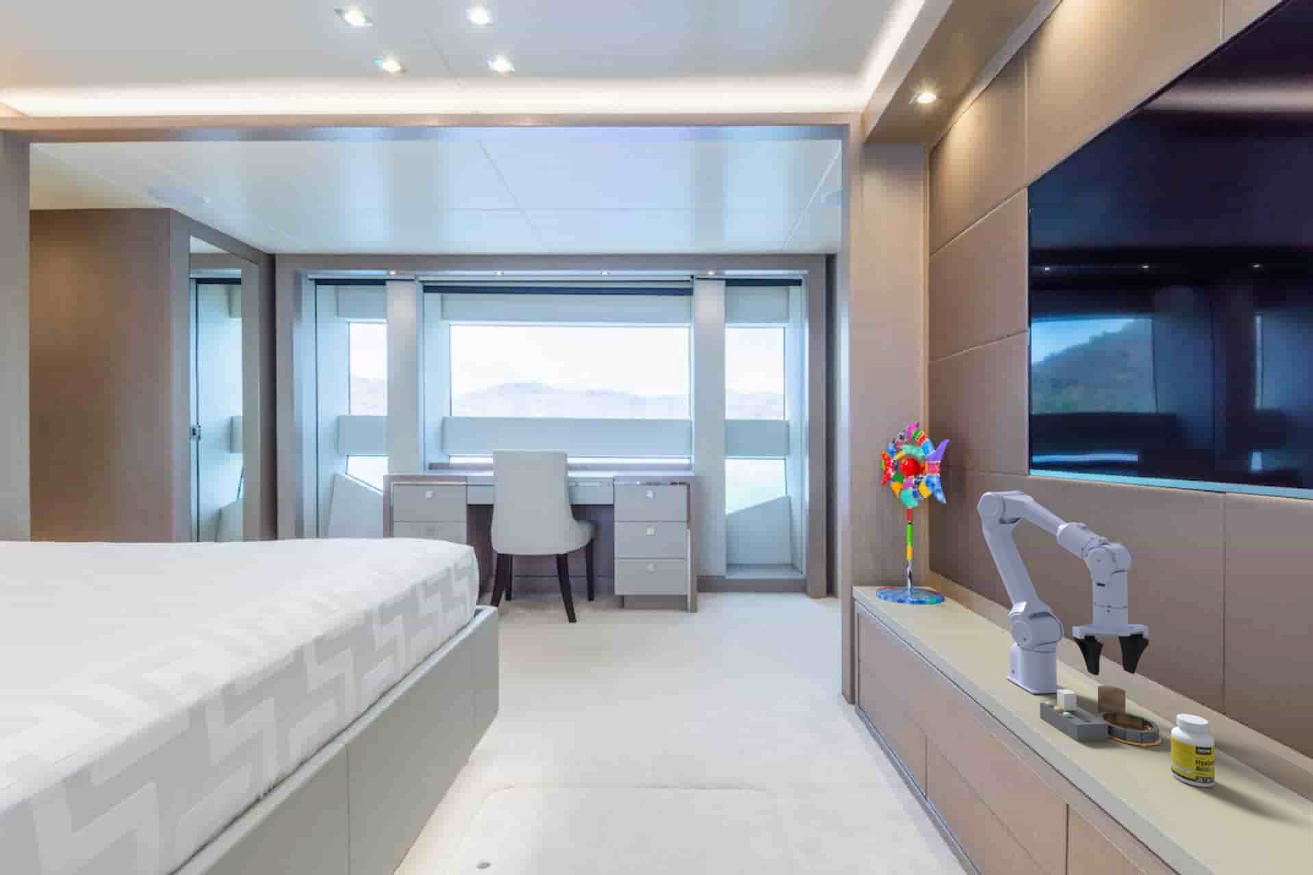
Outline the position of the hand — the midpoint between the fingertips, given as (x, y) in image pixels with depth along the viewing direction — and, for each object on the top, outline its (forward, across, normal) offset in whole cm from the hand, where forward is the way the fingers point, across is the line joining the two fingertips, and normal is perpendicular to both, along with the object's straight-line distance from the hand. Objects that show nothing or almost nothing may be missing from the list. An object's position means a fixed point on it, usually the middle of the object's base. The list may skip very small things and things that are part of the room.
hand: (1111, 672), depth 128 cm
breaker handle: (+5, -12, -3) cm, 13 cm away
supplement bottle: (+9, -6, -24) cm, 26 cm away
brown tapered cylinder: (+8, 0, 0) cm, 8 cm away
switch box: (+8, -12, -5) cm, 15 cm away
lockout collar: (+8, -4, -8) cm, 12 cm away
